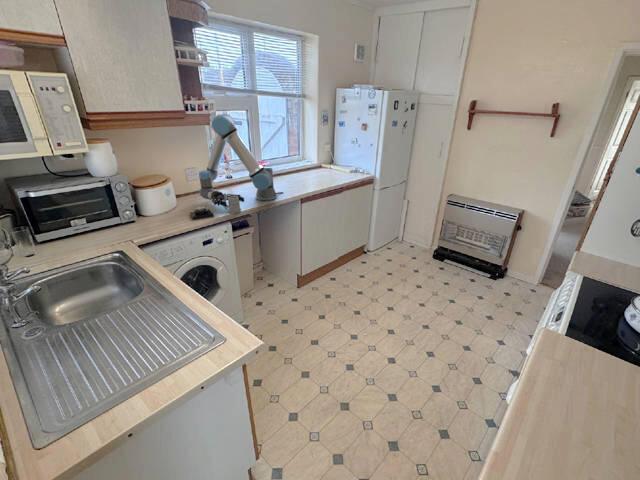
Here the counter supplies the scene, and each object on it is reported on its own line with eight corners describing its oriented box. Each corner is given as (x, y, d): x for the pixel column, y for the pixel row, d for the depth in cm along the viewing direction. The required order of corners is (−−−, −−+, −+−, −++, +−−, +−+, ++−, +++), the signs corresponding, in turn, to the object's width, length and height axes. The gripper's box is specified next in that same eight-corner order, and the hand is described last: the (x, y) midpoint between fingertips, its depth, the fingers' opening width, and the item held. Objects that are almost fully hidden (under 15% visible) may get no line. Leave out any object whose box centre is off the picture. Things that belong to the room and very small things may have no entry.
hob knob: (203, 209, 204) (203, 206, 204) (205, 211, 201) (204, 208, 200) (196, 210, 202) (195, 207, 201) (197, 212, 199) (197, 209, 198)
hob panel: (209, 212, 210) (208, 206, 208) (213, 216, 202) (212, 210, 201) (190, 215, 204) (189, 209, 202) (193, 220, 196) (192, 213, 195)
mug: (237, 214, 208) (235, 196, 203) (221, 212, 210) (218, 194, 205) (243, 210, 214) (241, 193, 209) (227, 209, 217) (225, 191, 212)
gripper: (232, 197, 230) (251, 203, 219) (200, 205, 212) (219, 212, 201) (230, 187, 227) (249, 192, 216) (198, 194, 209) (217, 200, 198)
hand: (235, 202), depth 208 cm, fingers open, 13 cm apart
